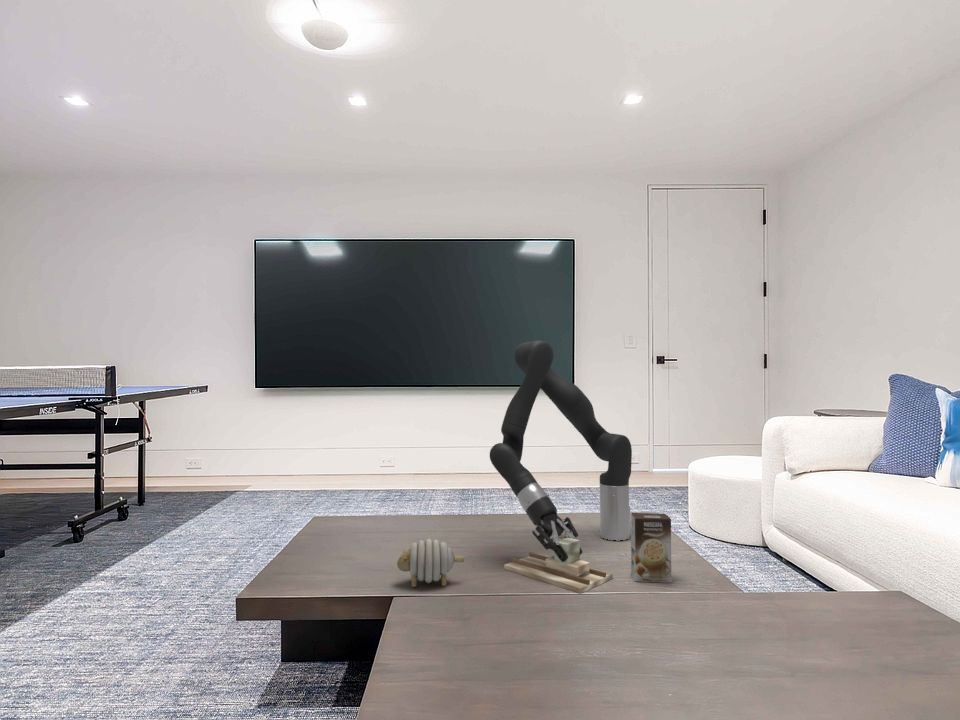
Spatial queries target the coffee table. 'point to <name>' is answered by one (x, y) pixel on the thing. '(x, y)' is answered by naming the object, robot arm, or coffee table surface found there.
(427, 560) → the toy sheep
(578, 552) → the block
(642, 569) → the coffee box
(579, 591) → the birch plank
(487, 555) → the coffee table surface
